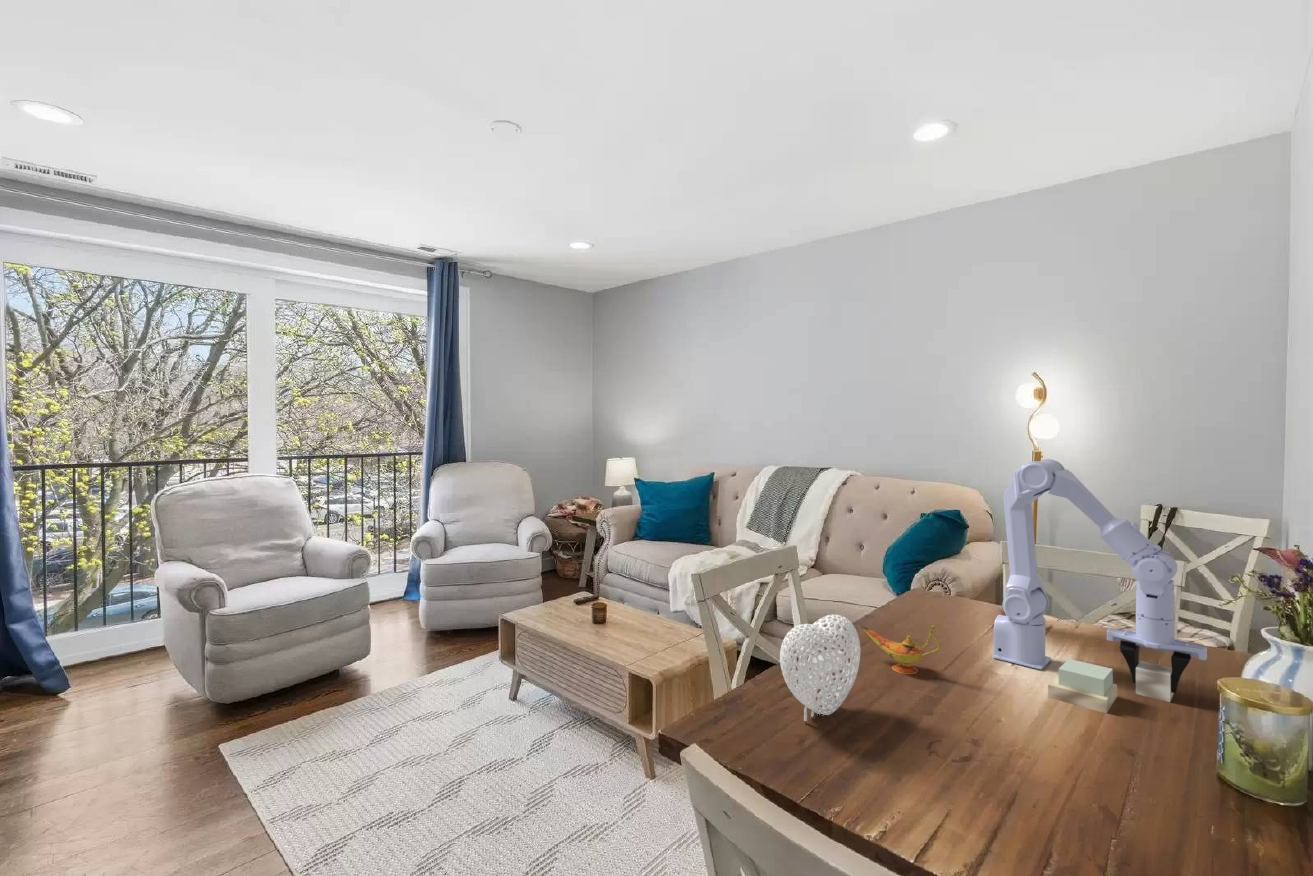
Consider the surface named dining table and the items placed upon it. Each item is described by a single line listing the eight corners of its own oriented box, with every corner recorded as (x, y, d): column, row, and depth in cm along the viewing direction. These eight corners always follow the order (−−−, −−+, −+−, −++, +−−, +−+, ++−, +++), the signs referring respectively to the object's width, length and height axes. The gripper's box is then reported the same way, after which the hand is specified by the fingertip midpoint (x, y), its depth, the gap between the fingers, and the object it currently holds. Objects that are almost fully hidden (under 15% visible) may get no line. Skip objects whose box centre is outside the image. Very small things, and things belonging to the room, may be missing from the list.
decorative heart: (827, 690, 118) (826, 603, 117) (876, 710, 109) (875, 617, 109) (765, 718, 107) (763, 623, 106) (814, 743, 98) (813, 640, 98)
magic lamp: (866, 651, 138) (866, 603, 137) (947, 675, 124) (947, 622, 124) (850, 659, 133) (850, 610, 133) (932, 685, 119) (932, 630, 119)
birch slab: (1048, 700, 114) (1048, 684, 113) (1060, 685, 120) (1060, 671, 120) (1106, 716, 107) (1106, 700, 107) (1116, 700, 113) (1116, 684, 113)
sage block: (1058, 684, 114) (1058, 668, 113) (1068, 673, 118) (1068, 658, 118) (1103, 696, 108) (1103, 679, 108) (1112, 684, 113) (1112, 668, 113)
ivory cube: (1135, 693, 114) (1135, 668, 114) (1140, 685, 118) (1140, 660, 118) (1169, 702, 111) (1170, 675, 111) (1173, 694, 114) (1173, 668, 114)
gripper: (1103, 612, 116) (1103, 681, 117) (1204, 630, 106) (1203, 706, 106) (1111, 604, 121) (1111, 670, 122) (1208, 620, 111) (1207, 693, 111)
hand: (1154, 686), depth 114 cm, fingers closed on ivory cube, 5 cm apart
